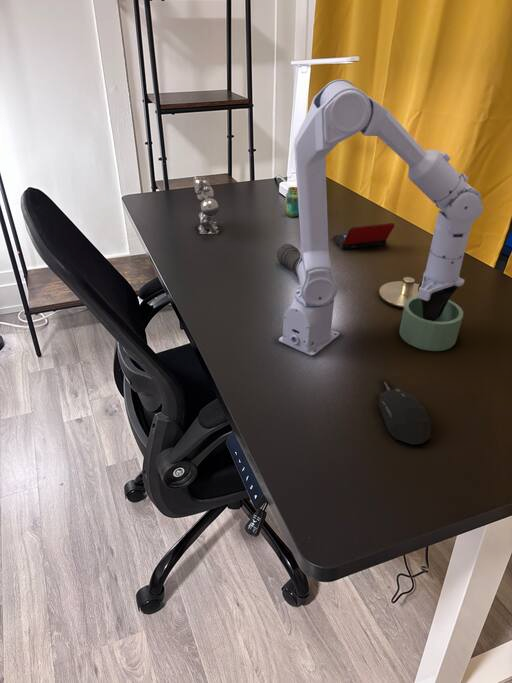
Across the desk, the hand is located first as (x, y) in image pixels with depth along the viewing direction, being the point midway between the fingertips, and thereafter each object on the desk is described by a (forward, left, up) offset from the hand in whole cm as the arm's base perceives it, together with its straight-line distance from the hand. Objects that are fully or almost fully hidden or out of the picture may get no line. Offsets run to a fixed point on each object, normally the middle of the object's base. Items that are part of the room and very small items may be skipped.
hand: (431, 318), depth 96 cm
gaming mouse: (-24, -6, -4) cm, 25 cm away
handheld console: (+30, +32, -4) cm, 44 cm away
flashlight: (+5, +34, -4) cm, 35 cm away
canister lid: (+11, +10, -3) cm, 15 cm away
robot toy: (+10, +69, -4) cm, 70 cm away
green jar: (+36, +59, -4) cm, 69 cm away
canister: (0, 0, -4) cm, 4 cm away
